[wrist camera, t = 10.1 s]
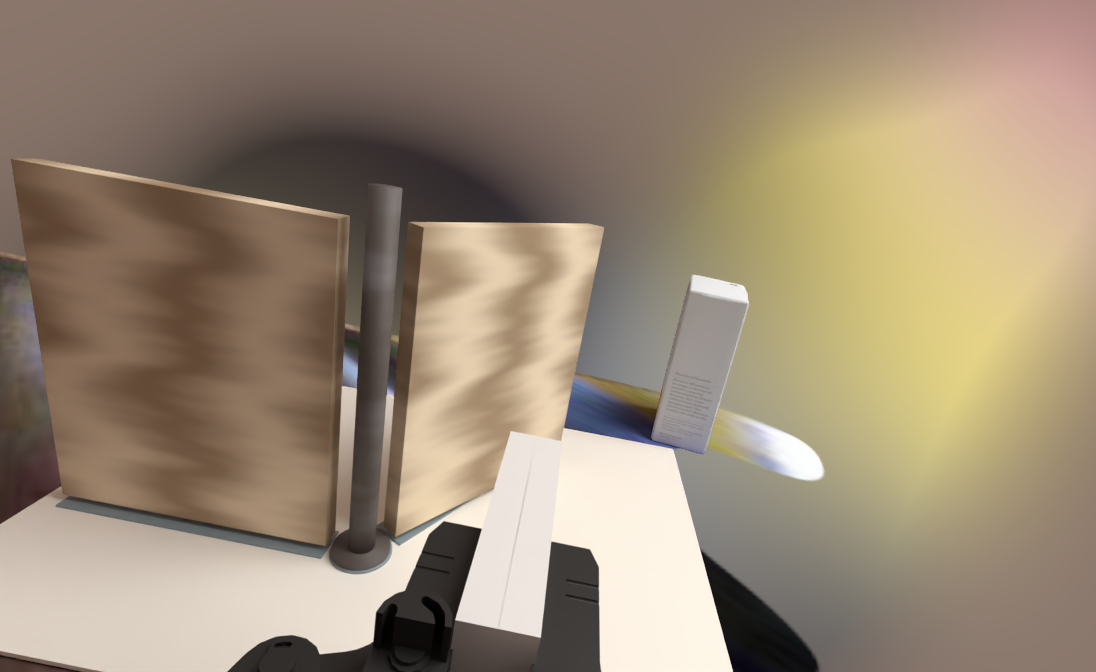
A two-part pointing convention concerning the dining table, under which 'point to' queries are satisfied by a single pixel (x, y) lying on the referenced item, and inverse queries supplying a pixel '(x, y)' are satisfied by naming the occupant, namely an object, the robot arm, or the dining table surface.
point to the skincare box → (699, 362)
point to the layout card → (339, 572)
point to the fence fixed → (209, 350)
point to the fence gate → (481, 354)
